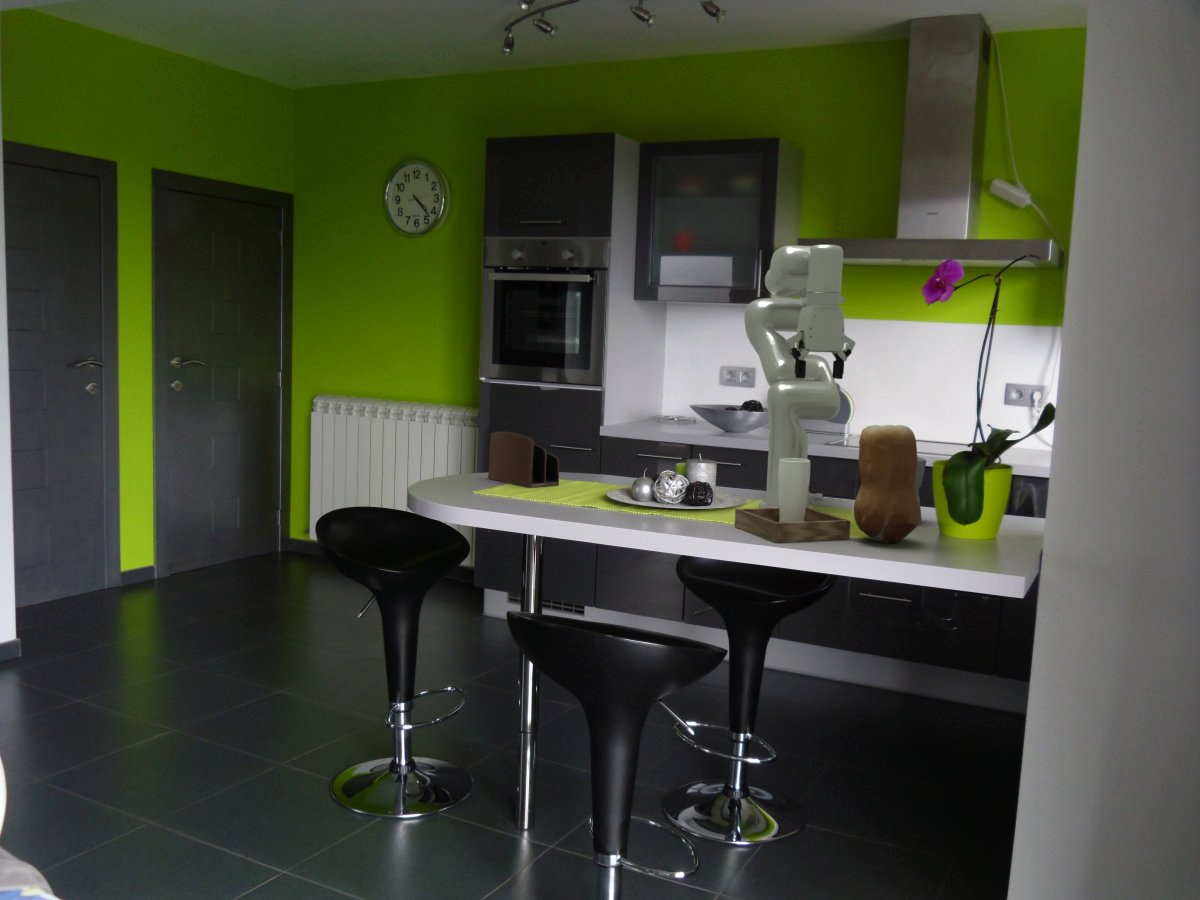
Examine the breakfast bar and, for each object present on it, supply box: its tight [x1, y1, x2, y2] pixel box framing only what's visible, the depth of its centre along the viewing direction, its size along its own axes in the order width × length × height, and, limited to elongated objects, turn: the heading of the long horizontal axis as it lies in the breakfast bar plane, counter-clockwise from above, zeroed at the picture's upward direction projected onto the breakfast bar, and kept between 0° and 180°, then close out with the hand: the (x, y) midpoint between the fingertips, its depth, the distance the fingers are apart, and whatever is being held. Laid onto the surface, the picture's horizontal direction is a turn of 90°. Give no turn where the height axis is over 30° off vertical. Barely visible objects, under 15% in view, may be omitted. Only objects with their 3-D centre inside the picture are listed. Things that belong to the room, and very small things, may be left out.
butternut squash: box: [853, 424, 922, 545], centre depth 228 cm, size 14×13×25 cm
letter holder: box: [487, 431, 560, 489], centre depth 298 cm, size 10×20×14 cm, turn 40°
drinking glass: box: [778, 458, 811, 523], centre depth 235 cm, size 7×7×15 cm
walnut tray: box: [734, 507, 852, 544], centre depth 236 cm, size 18×18×4 cm
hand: (818, 378), depth 243 cm, fingers open, 9 cm apart
